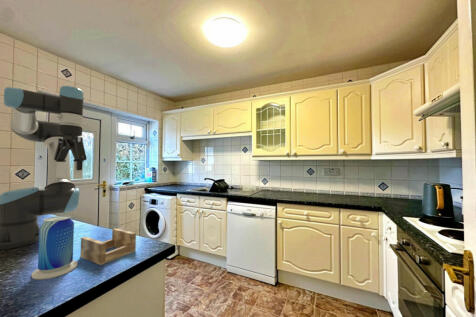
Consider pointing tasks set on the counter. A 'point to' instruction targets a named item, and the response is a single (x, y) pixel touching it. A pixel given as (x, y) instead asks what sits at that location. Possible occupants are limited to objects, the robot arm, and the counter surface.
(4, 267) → the counter surface
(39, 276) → the trivet
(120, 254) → the oak holder
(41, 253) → the beer can
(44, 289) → the counter surface
